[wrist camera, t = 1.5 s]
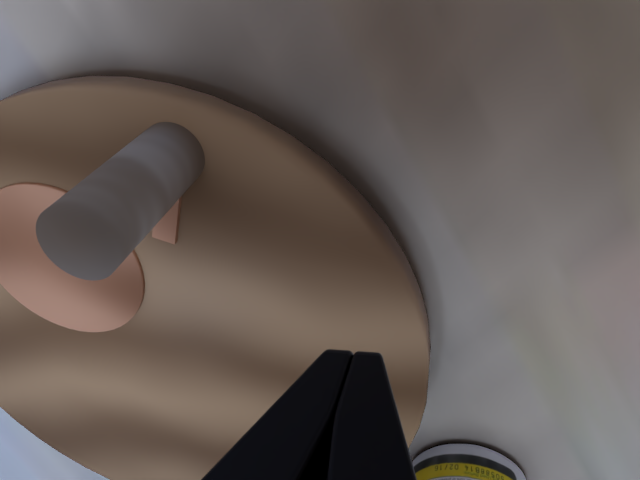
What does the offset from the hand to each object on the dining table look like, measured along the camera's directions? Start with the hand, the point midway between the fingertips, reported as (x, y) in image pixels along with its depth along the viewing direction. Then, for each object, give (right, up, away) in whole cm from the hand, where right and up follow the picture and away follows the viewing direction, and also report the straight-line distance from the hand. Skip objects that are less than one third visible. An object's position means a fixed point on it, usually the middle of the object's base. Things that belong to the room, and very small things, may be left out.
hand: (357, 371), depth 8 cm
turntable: (-6, -1, +15) cm, 17 cm away
